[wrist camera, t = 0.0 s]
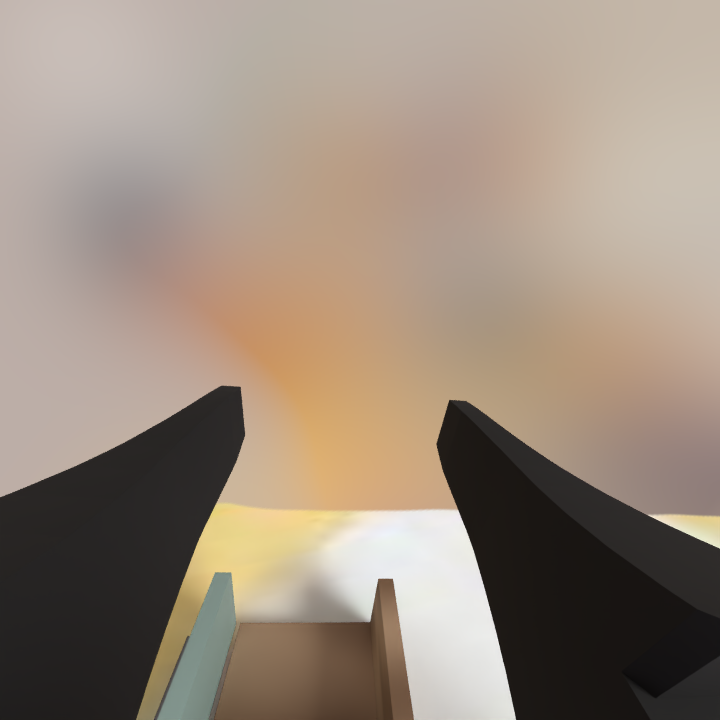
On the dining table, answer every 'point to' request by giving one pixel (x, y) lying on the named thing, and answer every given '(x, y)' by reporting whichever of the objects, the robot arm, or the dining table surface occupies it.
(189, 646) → the panel
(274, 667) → the cart bed
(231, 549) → the dining table surface
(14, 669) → the robot arm
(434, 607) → the dining table surface
